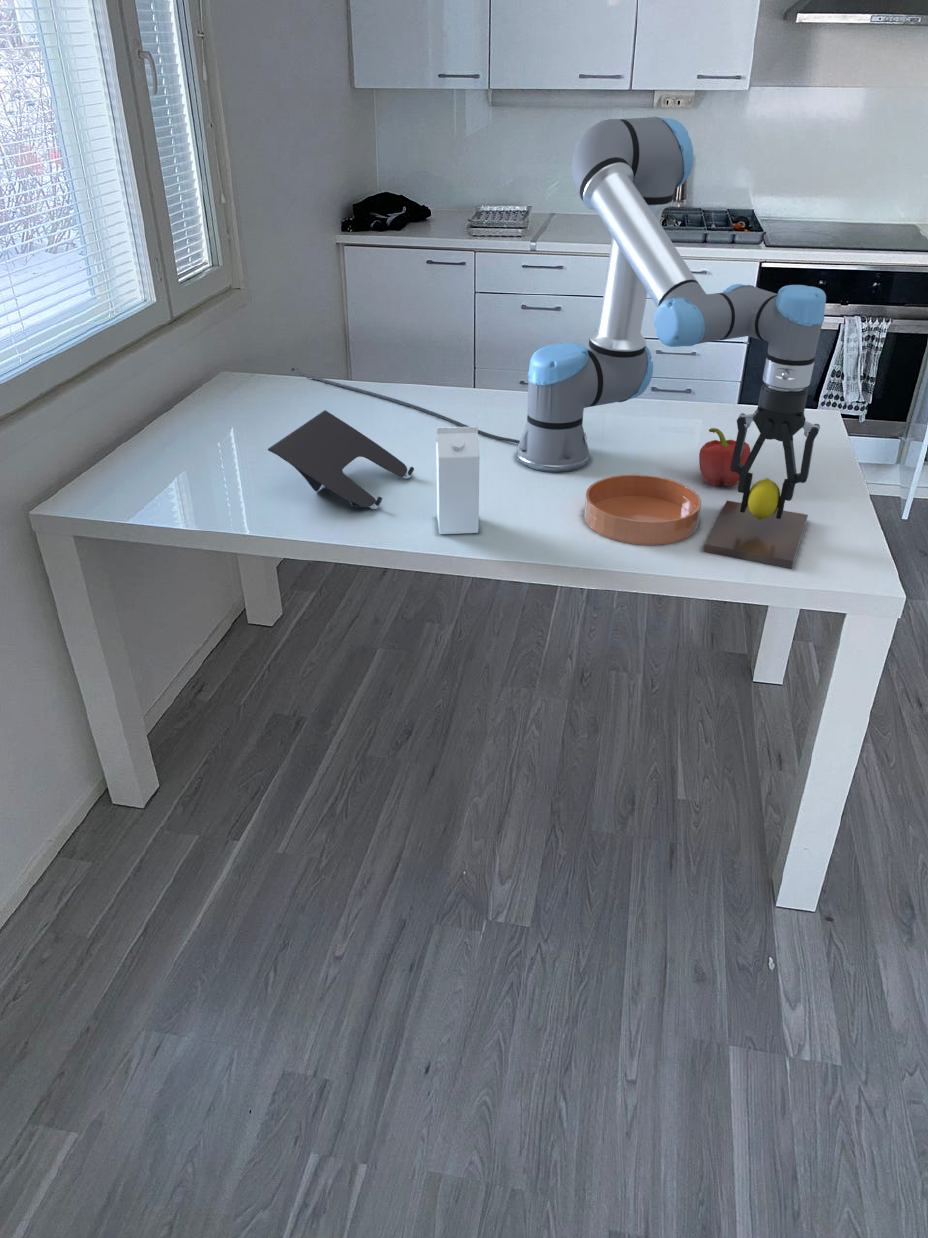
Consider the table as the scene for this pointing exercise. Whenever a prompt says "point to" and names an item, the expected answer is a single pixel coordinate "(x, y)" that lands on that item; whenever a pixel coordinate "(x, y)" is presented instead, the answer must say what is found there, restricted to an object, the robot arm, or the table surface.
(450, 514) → the milk carton
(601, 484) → the basin
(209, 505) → the table surface
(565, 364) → the robot arm
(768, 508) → the lemon
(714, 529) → the board
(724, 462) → the vegetable
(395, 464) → the laptop tray
